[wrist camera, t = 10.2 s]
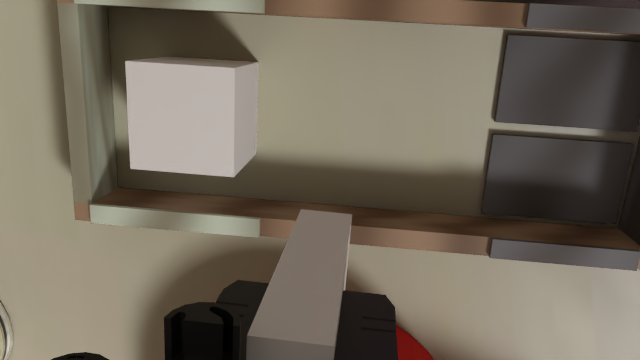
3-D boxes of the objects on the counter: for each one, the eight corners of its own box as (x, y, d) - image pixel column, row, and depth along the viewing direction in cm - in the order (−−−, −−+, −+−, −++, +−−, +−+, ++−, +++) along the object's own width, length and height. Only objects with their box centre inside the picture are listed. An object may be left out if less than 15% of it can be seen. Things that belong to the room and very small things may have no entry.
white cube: (169, 146, 35) (129, 169, 29) (167, 56, 33) (124, 60, 28) (257, 153, 34) (233, 177, 29) (259, 61, 33) (234, 67, 27)
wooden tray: (689, 15, 30) (734, 13, 26) (633, 247, 34) (665, 273, 30) (87, -15, 32) (51, -21, 29) (102, 202, 36) (72, 221, 33)
